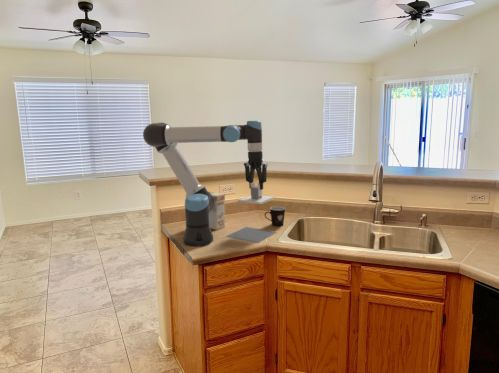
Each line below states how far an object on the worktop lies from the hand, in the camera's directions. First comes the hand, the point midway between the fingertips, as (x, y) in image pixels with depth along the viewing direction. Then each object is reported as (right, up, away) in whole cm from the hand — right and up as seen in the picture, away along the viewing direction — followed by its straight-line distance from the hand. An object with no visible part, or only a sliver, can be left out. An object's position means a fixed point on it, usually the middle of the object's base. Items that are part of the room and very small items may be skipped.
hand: (256, 195), depth 193 cm
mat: (-3, -21, +1) cm, 21 cm away
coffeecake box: (-25, -19, +17) cm, 36 cm away
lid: (0, -3, +1) cm, 3 cm away
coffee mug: (+11, -18, +18) cm, 28 cm away
